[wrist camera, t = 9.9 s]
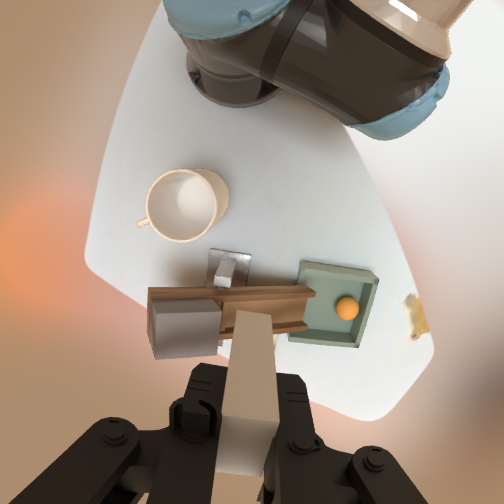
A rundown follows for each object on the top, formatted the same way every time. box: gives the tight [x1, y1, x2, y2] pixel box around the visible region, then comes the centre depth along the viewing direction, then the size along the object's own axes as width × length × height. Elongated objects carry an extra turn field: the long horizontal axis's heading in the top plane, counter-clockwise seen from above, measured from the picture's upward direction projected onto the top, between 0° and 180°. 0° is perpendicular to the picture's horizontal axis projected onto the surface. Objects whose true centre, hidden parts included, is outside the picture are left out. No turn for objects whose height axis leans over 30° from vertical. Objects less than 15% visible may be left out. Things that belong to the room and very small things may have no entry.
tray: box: [287, 260, 379, 348], centre depth 46 cm, size 12×11×4 cm
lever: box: [147, 285, 316, 360], centre depth 38 cm, size 13×22×6 cm, turn 81°
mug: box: [136, 169, 229, 243], centre depth 39 cm, size 12×8×12 cm
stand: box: [206, 249, 251, 346], centre depth 43 cm, size 11×6×10 cm, turn 171°
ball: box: [336, 297, 359, 320], centre depth 45 cm, size 4×4×4 cm
